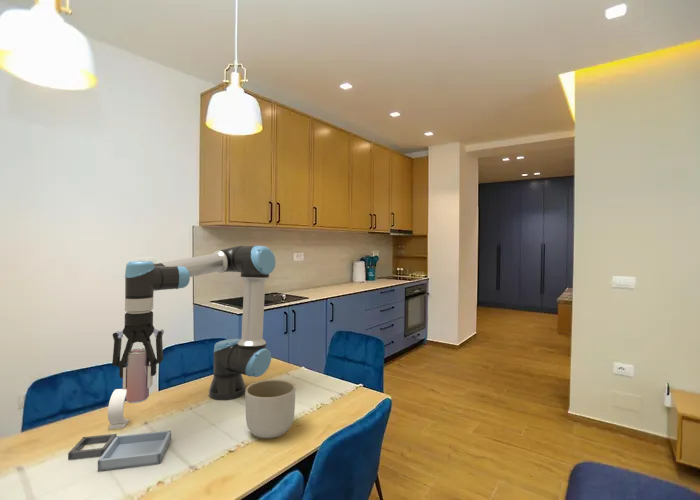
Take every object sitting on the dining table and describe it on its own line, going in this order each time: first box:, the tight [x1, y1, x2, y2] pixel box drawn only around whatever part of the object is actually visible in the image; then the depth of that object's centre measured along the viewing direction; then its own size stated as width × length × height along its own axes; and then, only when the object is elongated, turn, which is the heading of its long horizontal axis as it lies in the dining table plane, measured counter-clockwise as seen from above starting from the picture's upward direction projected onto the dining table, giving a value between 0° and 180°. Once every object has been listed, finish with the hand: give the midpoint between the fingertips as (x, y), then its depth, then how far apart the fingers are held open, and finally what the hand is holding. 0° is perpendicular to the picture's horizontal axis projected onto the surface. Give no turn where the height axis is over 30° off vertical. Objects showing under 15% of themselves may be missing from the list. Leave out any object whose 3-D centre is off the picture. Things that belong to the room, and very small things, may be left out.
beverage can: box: [125, 347, 150, 404], centre depth 110 cm, size 6×6×15 cm
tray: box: [97, 429, 172, 473], centre depth 110 cm, size 16×14×3 cm
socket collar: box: [67, 433, 118, 461], centre depth 112 cm, size 10×10×2 cm
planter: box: [244, 378, 297, 440], centre depth 125 cm, size 17×17×15 cm
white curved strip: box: [107, 388, 130, 430], centre depth 127 cm, size 5×6×12 cm
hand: (137, 386), depth 110 cm, fingers closed on beverage can, 6 cm apart
